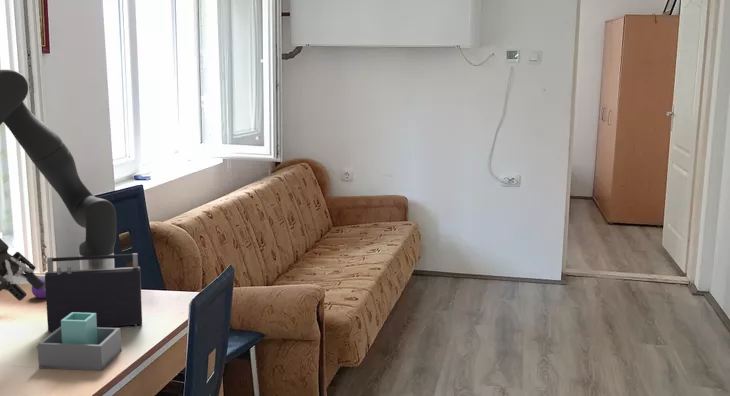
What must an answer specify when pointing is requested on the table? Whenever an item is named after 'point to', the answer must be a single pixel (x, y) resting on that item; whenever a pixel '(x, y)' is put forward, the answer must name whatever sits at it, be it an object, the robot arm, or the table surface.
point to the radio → (94, 292)
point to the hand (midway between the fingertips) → (32, 292)
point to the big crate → (79, 351)
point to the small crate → (79, 328)
